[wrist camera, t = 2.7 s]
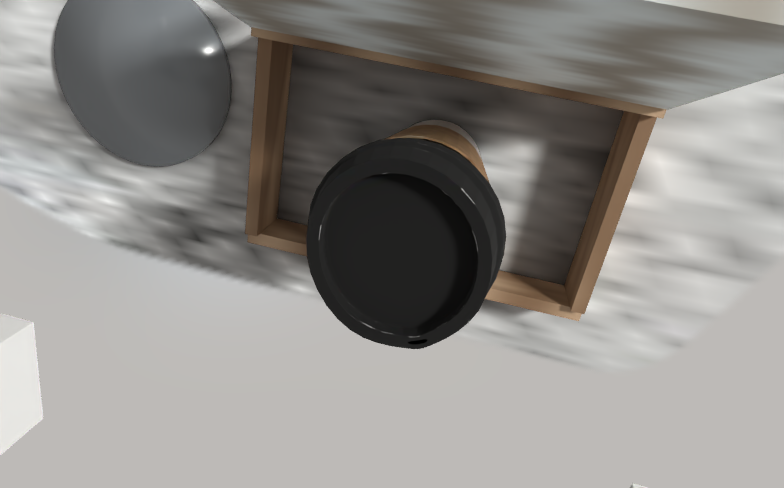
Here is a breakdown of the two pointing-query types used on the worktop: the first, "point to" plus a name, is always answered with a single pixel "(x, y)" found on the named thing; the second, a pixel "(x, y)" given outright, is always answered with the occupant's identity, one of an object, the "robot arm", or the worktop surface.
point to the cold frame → (518, 84)
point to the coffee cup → (407, 236)
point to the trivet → (144, 76)
